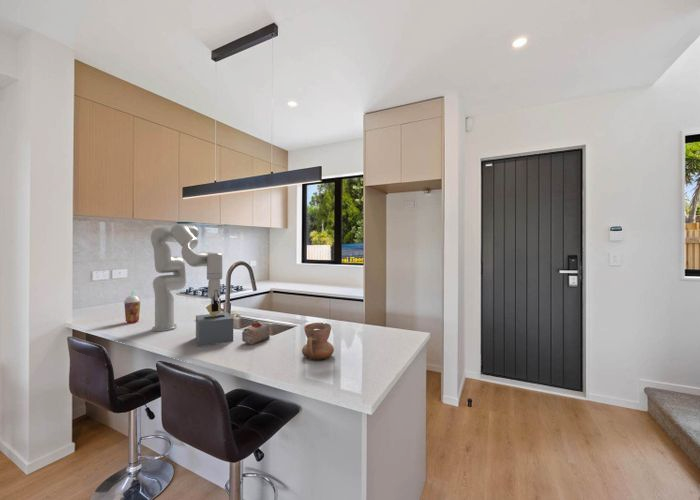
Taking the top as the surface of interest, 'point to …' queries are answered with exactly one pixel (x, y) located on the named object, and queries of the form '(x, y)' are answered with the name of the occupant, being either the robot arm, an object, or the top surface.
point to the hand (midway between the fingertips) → (214, 310)
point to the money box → (214, 329)
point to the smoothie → (132, 308)
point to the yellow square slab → (211, 310)
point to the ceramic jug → (317, 341)
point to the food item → (256, 333)
